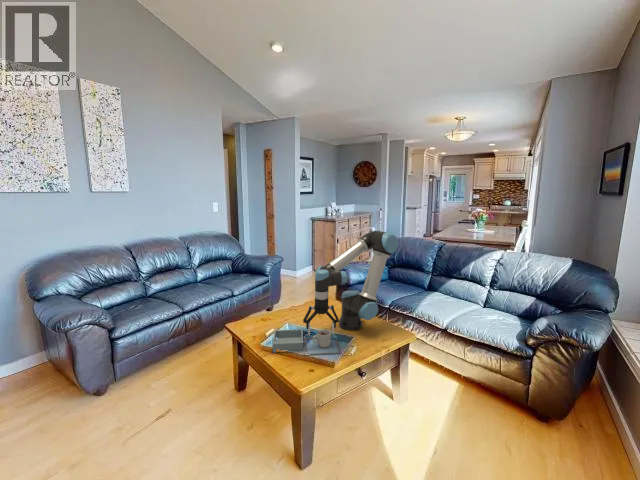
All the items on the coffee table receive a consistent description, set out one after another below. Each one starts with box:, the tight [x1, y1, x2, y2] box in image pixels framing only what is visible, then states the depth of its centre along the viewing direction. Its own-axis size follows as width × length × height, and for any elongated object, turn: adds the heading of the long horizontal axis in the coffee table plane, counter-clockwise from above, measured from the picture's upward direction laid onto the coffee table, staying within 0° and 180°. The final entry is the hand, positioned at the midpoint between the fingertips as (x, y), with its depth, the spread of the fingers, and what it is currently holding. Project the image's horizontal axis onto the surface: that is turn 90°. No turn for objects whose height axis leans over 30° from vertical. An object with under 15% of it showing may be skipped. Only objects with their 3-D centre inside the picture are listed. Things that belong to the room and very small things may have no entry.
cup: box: [311, 328, 332, 348], centre depth 175 cm, size 11×8×8 cm
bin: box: [272, 328, 304, 354], centre depth 177 cm, size 17×17×5 cm
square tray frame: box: [303, 336, 342, 356], centre depth 176 cm, size 21×21×2 cm
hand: (321, 333), depth 174 cm, fingers open, 13 cm apart
